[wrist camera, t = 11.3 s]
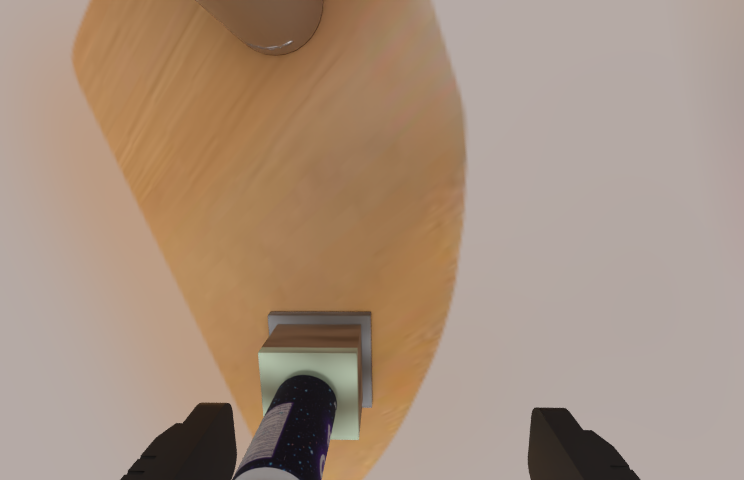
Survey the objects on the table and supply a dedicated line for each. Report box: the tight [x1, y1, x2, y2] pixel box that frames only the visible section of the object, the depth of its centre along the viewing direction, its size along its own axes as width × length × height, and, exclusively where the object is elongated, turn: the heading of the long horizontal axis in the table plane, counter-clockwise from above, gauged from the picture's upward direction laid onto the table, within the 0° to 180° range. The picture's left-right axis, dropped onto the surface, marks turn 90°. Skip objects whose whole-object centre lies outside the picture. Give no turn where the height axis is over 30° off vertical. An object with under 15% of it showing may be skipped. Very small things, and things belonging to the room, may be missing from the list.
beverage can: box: [232, 375, 337, 480], centre depth 27 cm, size 6×6×12 cm
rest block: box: [258, 312, 372, 440], centre depth 37 cm, size 11×11×7 cm
